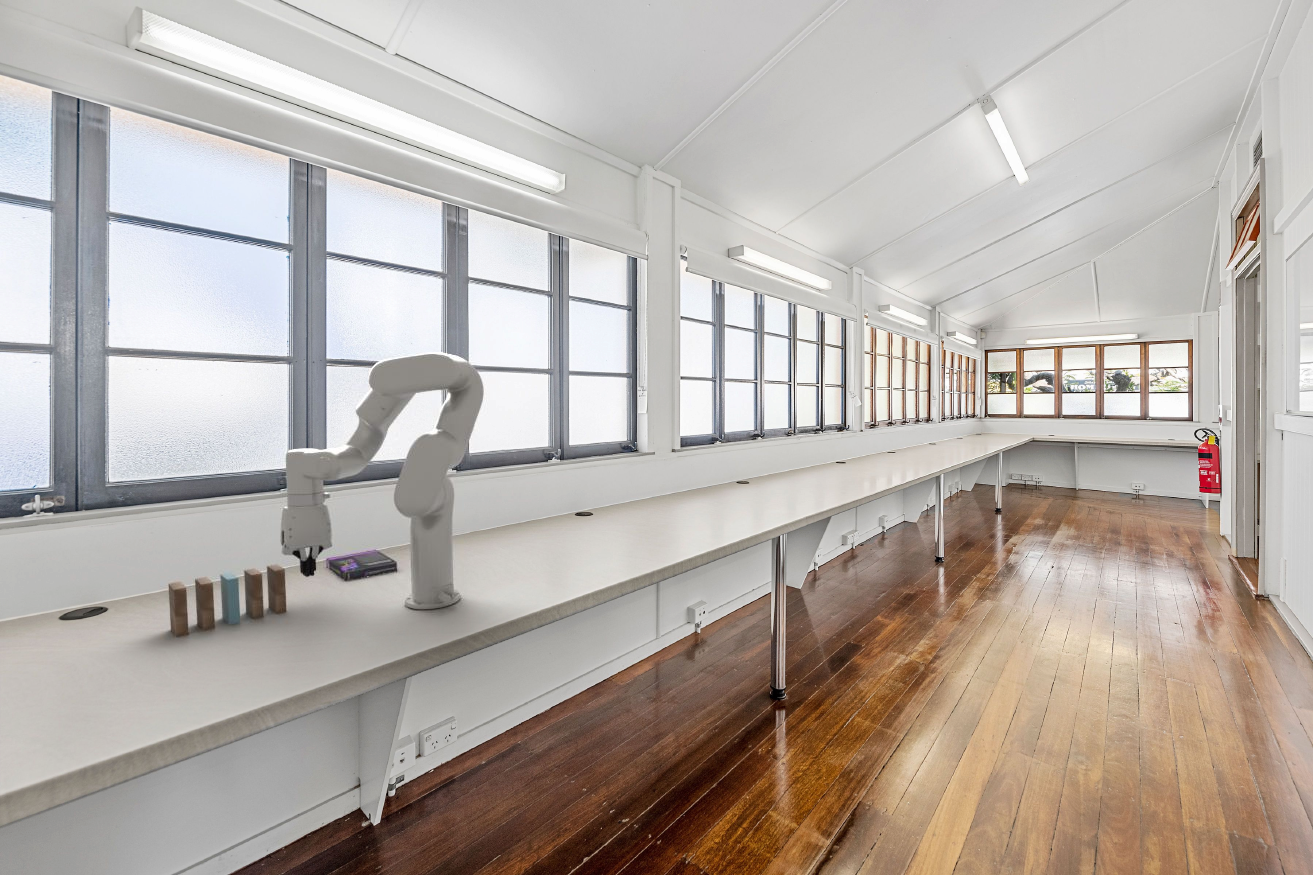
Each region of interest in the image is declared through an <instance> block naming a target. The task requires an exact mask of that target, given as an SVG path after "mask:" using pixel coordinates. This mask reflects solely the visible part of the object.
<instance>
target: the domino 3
mask: <svg viewBox="0 0 1313 875" xmlns="http://www.w3.org/2000/svg"><path fill="white" fill-rule="evenodd" d="M219 579H220V594H221V615H222V619H223V620H224V622H226V623H227V624H228V625H229V626H230V625H234V624H238V623H241V610H240V609H241V608H240V589H239V588H240V586H239V584H240V583H239V577H238V576H237V575H235V574H234V573H232V572H226V573H220V578H219Z"/></svg>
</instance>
